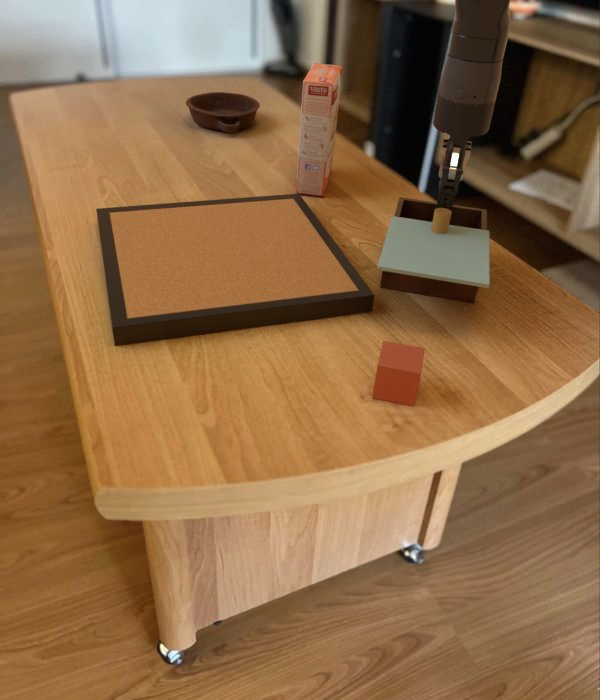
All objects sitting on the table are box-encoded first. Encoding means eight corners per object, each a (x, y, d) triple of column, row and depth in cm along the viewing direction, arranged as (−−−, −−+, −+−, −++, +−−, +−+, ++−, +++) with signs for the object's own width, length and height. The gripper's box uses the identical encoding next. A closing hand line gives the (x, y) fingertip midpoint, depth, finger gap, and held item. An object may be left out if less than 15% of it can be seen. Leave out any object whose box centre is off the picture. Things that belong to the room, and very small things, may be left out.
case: (475, 254, 106) (486, 209, 101) (474, 303, 93) (486, 255, 88) (392, 240, 108) (399, 196, 103) (380, 287, 95) (387, 239, 90)
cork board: (372, 311, 90) (298, 207, 116) (374, 294, 88) (299, 193, 115) (114, 345, 80) (98, 224, 107) (112, 327, 78) (96, 208, 105)
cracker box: (325, 198, 120) (335, 83, 108) (294, 194, 121) (300, 79, 108) (334, 171, 132) (343, 64, 119) (305, 168, 132) (312, 61, 119)
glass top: (488, 234, 93) (494, 211, 91) (488, 288, 80) (495, 263, 78) (391, 219, 95) (395, 196, 93) (376, 269, 83) (380, 245, 81)
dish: (190, 139, 142) (189, 116, 139) (183, 109, 159) (182, 89, 156) (267, 137, 146) (267, 115, 143) (251, 109, 163) (251, 88, 160)
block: (417, 380, 78) (424, 348, 75) (414, 406, 74) (421, 373, 71) (377, 372, 79) (383, 340, 76) (371, 398, 75) (377, 365, 72)
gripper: (496, 110, 77) (466, 238, 88) (496, 84, 88) (469, 201, 98) (435, 103, 78) (413, 230, 89) (441, 77, 89) (421, 194, 99)
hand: (442, 214), depth 94 cm, fingers closed
